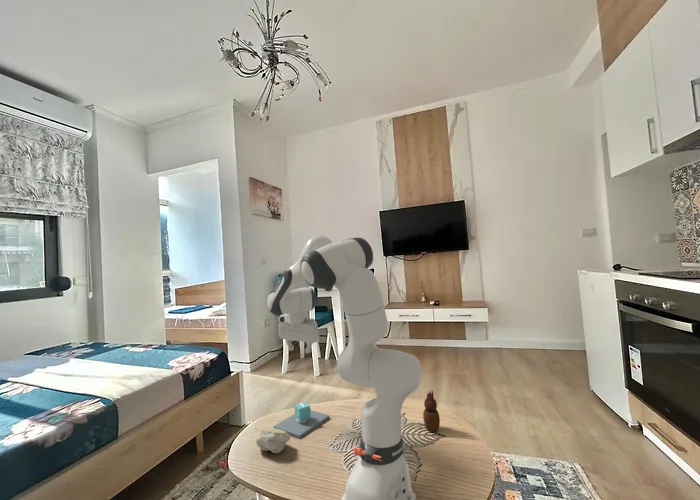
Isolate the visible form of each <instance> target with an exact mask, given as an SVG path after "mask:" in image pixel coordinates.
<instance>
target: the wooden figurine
mask: <svg viewBox="0 0 700 500" xmlns="http://www.w3.org/2000/svg"><path fill="white" fill-rule="evenodd" d="M434 397H435V396H434V391H433V390H429V392H428V393H427V394H426V398H425V399H424V401H423V403H424V404H423V405H424V410H423V415H422V416H423V417H422V419H423V422H424V426H425V429H426V430H427V431H428V432H430V433H436V432H437V431H439V429H440V424H441V423H440V421H441V419H440V414H439V411H438V410H437V408H438V404H437V401H436V399H435V398H434Z"/></svg>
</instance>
